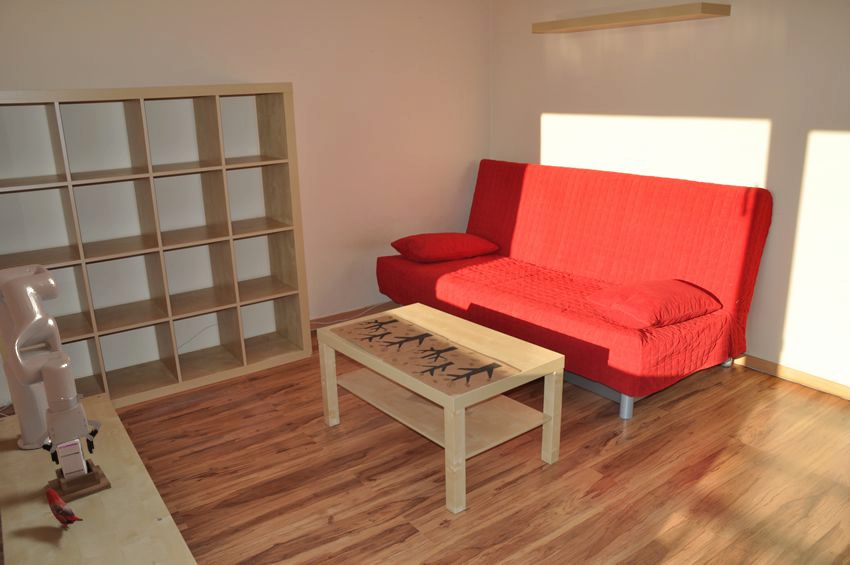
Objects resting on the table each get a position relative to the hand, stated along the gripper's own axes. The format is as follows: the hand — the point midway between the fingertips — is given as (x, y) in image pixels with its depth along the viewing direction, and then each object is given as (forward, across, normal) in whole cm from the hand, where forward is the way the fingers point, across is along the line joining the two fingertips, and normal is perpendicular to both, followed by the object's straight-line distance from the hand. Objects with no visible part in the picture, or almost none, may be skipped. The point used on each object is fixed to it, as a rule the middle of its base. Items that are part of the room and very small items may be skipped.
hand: (74, 457), depth 197 cm
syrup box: (+9, 0, 0) cm, 9 cm away
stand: (+10, 0, 0) cm, 10 cm away
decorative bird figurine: (+10, +7, +21) cm, 24 cm away
